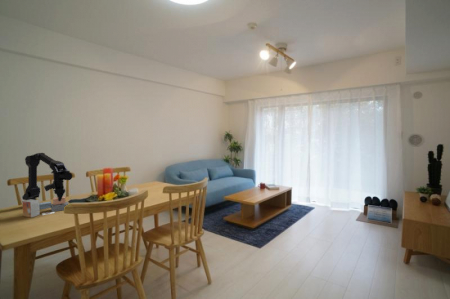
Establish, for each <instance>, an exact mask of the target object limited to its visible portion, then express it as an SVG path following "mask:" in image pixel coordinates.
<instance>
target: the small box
mask: <svg viewBox="0 0 450 299" xmlns="http://www.w3.org/2000/svg"><path fill="white" fill-rule="evenodd" d="M39 203H40V200H39V199H36V200H32V199H30V200H23V201H22V216H23V217H27V218H33V217H37V216H40V212H41V211H40V209H39Z"/></svg>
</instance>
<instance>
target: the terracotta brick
mask: <svg viewBox="0 0 450 299" xmlns="http://www.w3.org/2000/svg"><path fill="white" fill-rule="evenodd" d="M52 199H53V200H52V204H54V205H56V204H62V203H65V202H66V197H65V196H64V195H63V197H62V199H61V201H59V200H58V197H57V196H56V197H53V198H52Z"/></svg>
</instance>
